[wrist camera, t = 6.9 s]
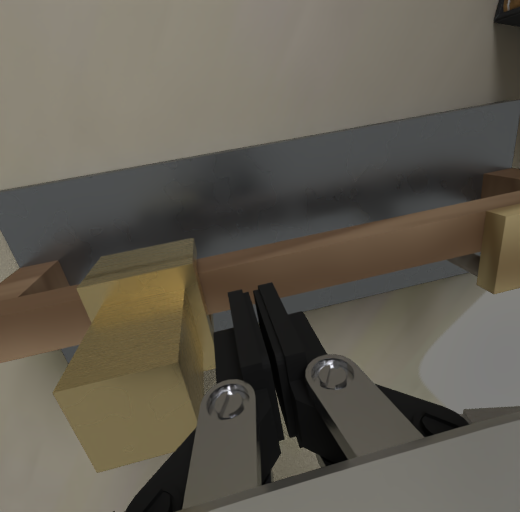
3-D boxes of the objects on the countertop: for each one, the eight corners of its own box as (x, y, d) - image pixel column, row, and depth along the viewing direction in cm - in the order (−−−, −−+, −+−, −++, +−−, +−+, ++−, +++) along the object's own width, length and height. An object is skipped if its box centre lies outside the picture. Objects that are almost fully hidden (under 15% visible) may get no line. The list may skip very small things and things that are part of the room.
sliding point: (120, 231, 17) (13, 369, 7) (194, 216, 17) (189, 328, 8) (148, 310, 19) (94, 504, 9) (214, 296, 19) (229, 465, 10)
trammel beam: (19, 267, 17) (-83, 346, 11) (511, 167, 20) (650, 184, 14) (51, 329, 19) (-23, 428, 12) (502, 228, 22) (623, 267, 16)
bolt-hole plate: (-3, 191, 17) (-18, 195, 15) (504, 101, 20) (523, 99, 19) (76, 354, 21) (69, 368, 20) (482, 259, 24) (497, 266, 23)
